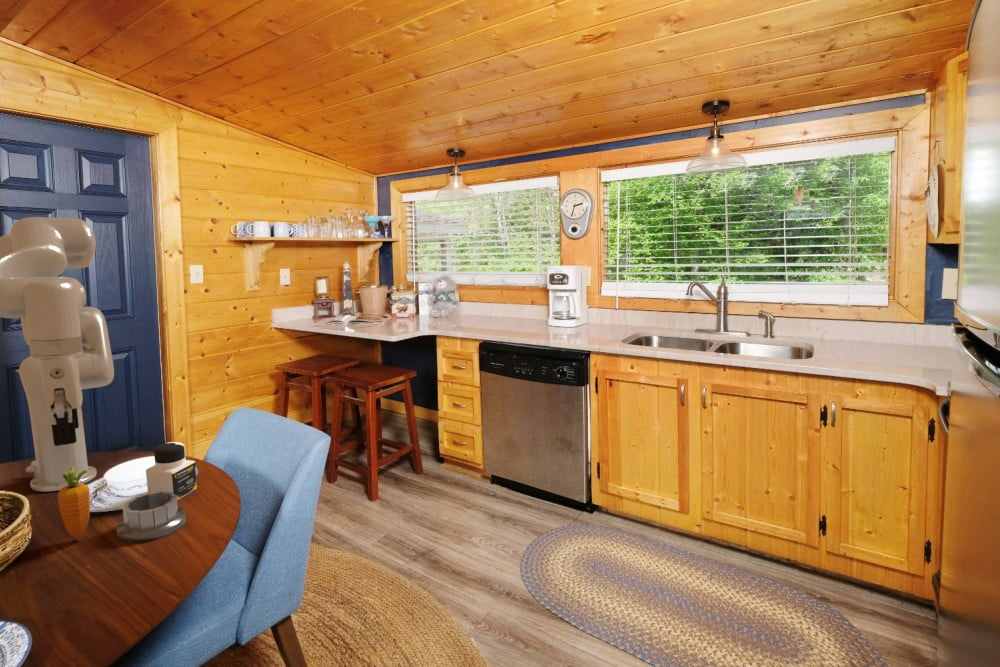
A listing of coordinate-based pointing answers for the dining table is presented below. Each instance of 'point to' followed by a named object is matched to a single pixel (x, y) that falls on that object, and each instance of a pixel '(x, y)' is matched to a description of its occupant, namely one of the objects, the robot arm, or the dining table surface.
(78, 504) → the carrot
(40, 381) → the robot arm
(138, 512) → the duct collar
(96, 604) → the dining table surface
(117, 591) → the dining table surface
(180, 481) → the medicine bottle
